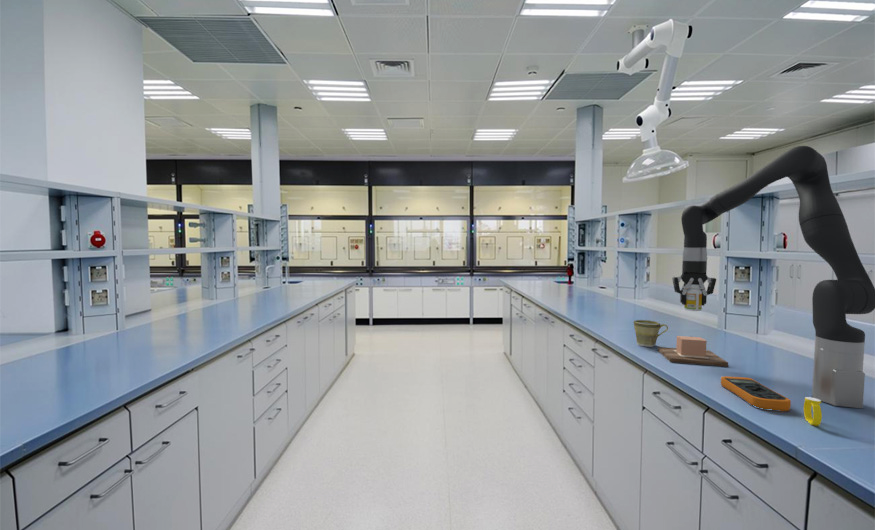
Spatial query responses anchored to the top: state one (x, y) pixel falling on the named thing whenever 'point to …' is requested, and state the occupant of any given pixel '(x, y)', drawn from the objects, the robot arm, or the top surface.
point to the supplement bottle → (693, 298)
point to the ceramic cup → (647, 332)
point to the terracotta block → (691, 346)
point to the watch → (817, 414)
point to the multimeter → (756, 393)
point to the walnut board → (692, 357)
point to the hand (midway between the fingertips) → (692, 304)
